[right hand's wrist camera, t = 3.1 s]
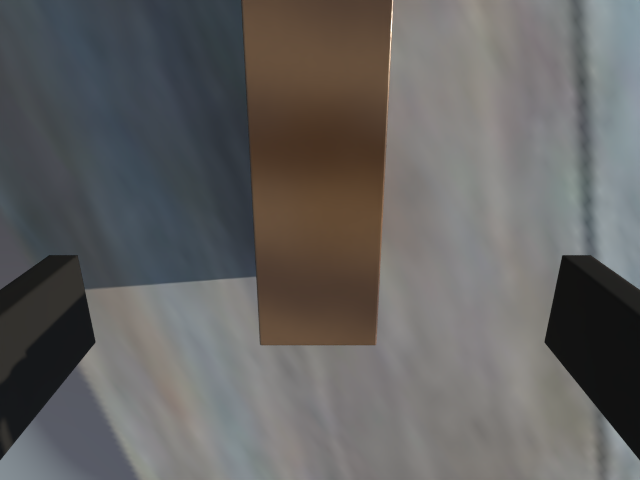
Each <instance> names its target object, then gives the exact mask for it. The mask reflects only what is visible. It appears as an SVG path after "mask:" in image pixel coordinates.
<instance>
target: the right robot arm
mask: <svg viewBox="0 0 640 480" xmlns="http://www.w3.org/2000/svg"><path fill="white" fill-rule="evenodd" d="M94 344H95V337H94V332H93V328H92V323H91V318H90V313H89V308H88V303H87V299H86V294H85V289H84V284H83V279H82V274H81V270H80V265H79V260H78V255H49V256H48V257H46V258H45V259H43V260H42V261H41V262H39V263H38V264H36V265H35V266H34V267H32V268H31V269H29V270H28V271H26V272H25V273H24V274H22V275H21V276H19V277H18V278H16V279H15V280H14V281H12V282H11V283H9V284H8V285H7V286H5V287H4V288H2V289H1V290H0V460H1V459H2V457H3V456H4V455H5V454H6V452H7V451H8V450H9V449H10V447H11V446H12V445H13V444H14V442H15V441H16V440H17V439H18V438H19V436H20V435H21V434H22V433H23V431H24V430H25V429H26V428H27V426H28V425H29V424H30V423H31V421H32V420H33V419H34V418H35V417H36V415H37V414H38V413H39V412H40V410H41V409H42V408H43V407H44V405H45V404H46V403H47V402H48V400H49V399H50V398H51V397H52V395H53V394H54V393H55V392H56V391H57V389H58V388H59V387H60V386H61V384H62V383H63V382H64V381H65V379H66V378H67V377H68V376H69V374H70V373H71V372H72V371H73V370H74V368H75V367H76V366H77V365H78V363H79V362H80V361H81V360H82V358H83V357H84V356H85V355H86V353H87V352H88V351H89V350H90V348H91V347H92V346H93V345H94ZM545 344H546V345H547V346H548V347H549V348H550V350H551V351H552V352H553V353H554V355H555V356H556V357H557V358H558V360H559V361H560V362H561V363H562V365H563V366H564V367H565V368H566V370H567V371H568V372H569V373H570V374H571V376H572V377H573V378H574V379H575V381H576V382H577V383H578V384H579V386H580V387H581V388H582V389H583V391H584V392H585V393H586V394H587V395H588V397H589V398H590V399H591V400H592V402H593V403H594V404H595V405H596V407H597V408H598V409H599V410H600V412H601V413H602V414H603V415H604V417H605V418H606V419H607V420H608V421H609V423H610V424H611V425H612V426H613V428H614V429H615V430H616V431H617V433H618V434H619V435H620V436H621V438H622V439H623V440H624V441H625V442H626V444H627V445H628V446H629V447H630V449H631V450H632V451H633V452H634V454H635V455H636V456H637V457H638V459H639V460H640V290H639V289H638V288H636V287H635V286H633V285H632V284H631V283H629V282H628V281H626V280H625V279H624V278H622V277H621V276H619V275H618V274H616V273H615V272H614V271H612V270H611V269H609V268H608V267H606V266H605V265H604V264H602V263H601V262H599V261H598V260H597V259H595V258H594V257H592V256H591V255H562V260H561V265H560V270H559V274H558V279H557V284H556V289H555V294H554V299H553V303H552V308H551V313H550V318H549V323H548V328H547V332H546V337H545Z"/></svg>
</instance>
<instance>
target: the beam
mask: <svg viewBox="0 0 640 480" xmlns="http://www.w3.org/2000/svg"><path fill="white" fill-rule="evenodd" d="M241 5H242V23H243V41H244V60H245V78H246V96H247V114H248V133H249V151H250V169H251V188H252V206H253V224H254V242H255V261H256V279H257V297H258V316H259V334H260V345H376V340H377V320H378V300H379V280H380V260H381V240H382V220H383V200H384V180H385V160H386V140H387V119H388V99H389V79H390V59H391V39H392V19H393V0H241Z"/></svg>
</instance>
